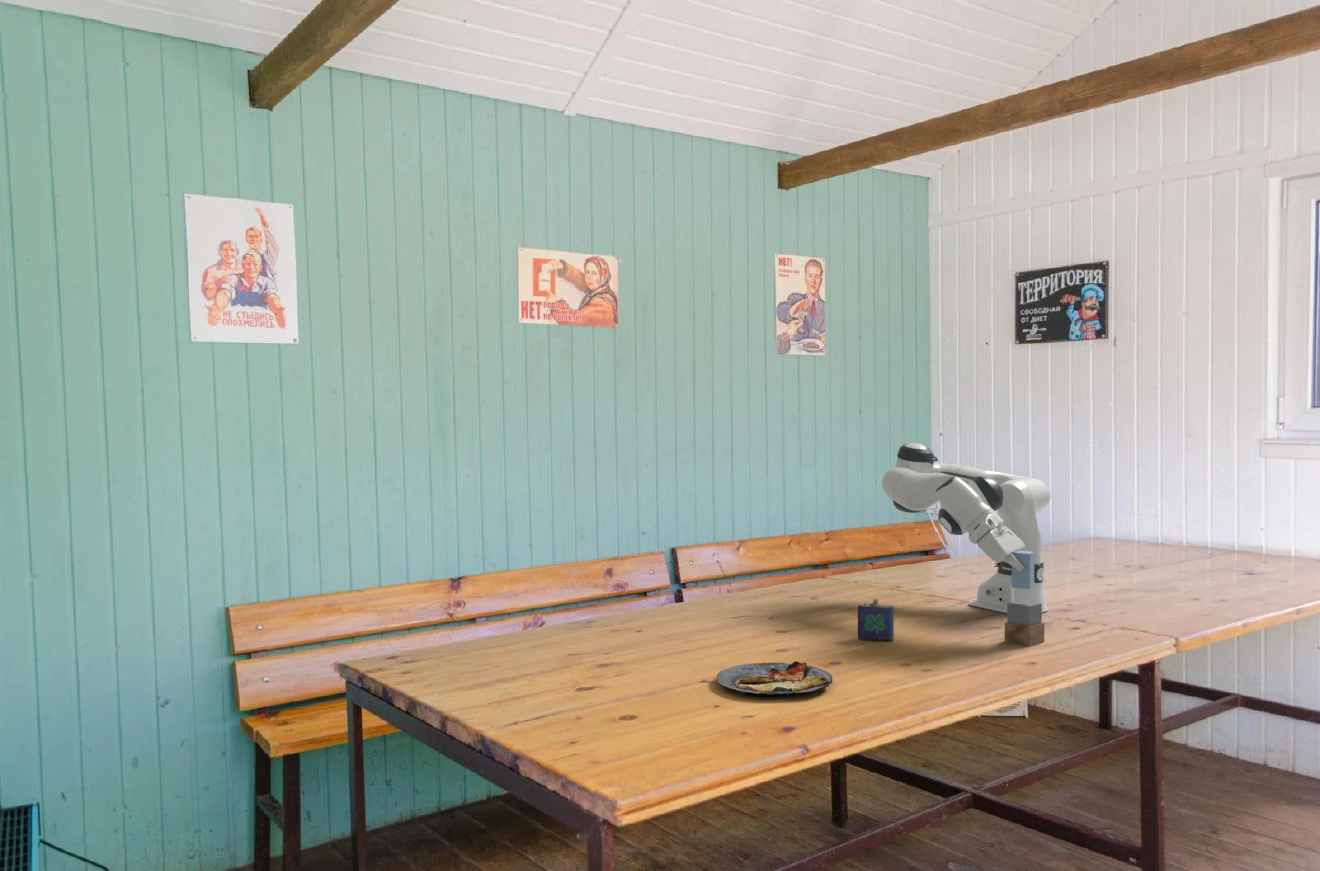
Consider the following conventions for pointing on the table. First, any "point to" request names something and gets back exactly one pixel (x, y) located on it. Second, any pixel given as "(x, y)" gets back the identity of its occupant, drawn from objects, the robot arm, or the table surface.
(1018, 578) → the pillar
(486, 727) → the table surface
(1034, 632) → the tower base
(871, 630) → the flask
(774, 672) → the food plate
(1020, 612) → the tower middle
